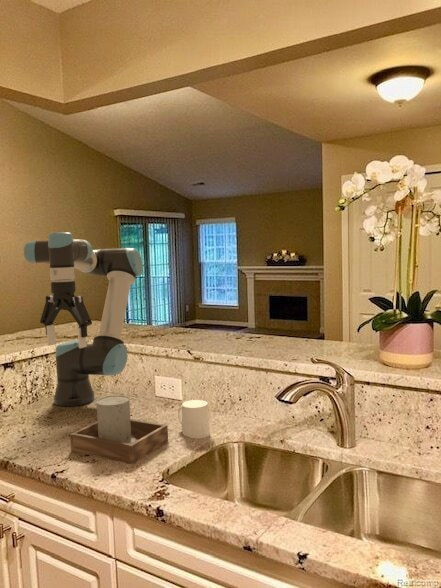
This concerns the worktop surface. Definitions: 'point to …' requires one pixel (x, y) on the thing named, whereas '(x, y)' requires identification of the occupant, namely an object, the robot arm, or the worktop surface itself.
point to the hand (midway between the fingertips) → (66, 346)
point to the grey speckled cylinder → (114, 418)
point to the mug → (194, 418)
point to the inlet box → (142, 442)
